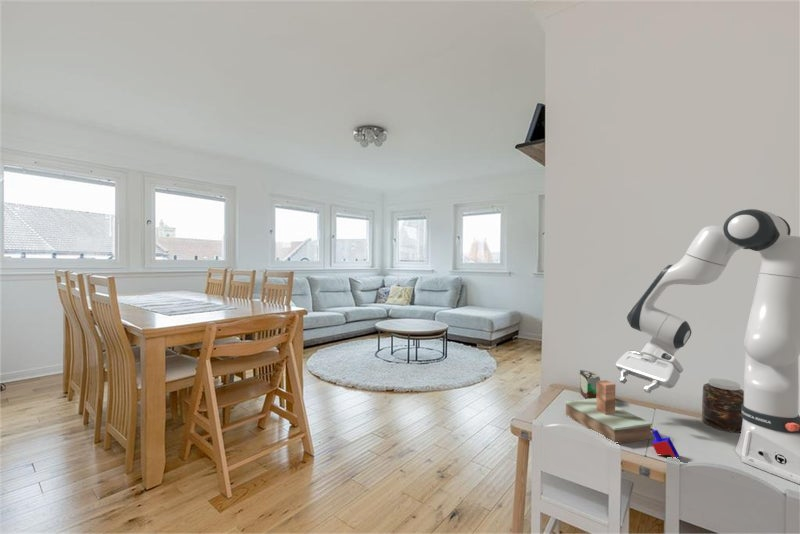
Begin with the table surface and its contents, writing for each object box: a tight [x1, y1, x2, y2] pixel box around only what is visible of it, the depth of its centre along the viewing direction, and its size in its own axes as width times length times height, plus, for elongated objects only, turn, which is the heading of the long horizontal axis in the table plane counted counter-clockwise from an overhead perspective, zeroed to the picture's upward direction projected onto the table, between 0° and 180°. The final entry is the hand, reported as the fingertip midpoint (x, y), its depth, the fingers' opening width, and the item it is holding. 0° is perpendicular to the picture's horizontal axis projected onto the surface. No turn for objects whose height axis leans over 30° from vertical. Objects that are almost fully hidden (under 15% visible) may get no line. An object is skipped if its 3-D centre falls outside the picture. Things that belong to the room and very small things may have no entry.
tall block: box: [596, 380, 616, 415], centre depth 126 cm, size 4×4×10 cm
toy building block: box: [651, 429, 680, 458], centre depth 108 cm, size 4×4×8 cm
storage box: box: [564, 398, 653, 444], centre depth 127 cm, size 23×15×5 cm, turn 14°
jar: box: [701, 377, 744, 434], centre depth 128 cm, size 12×12×15 cm
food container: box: [579, 369, 601, 399], centre depth 152 cm, size 12×6×10 cm, turn 168°
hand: (633, 386), depth 130 cm, fingers open, 8 cm apart
